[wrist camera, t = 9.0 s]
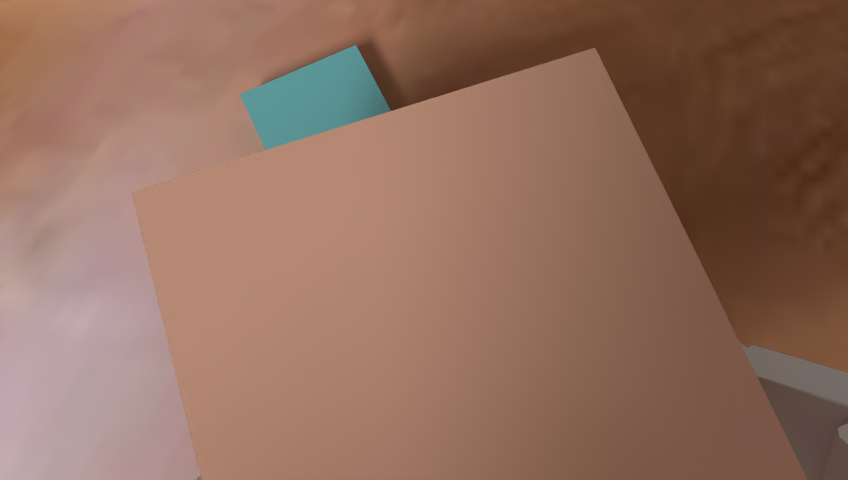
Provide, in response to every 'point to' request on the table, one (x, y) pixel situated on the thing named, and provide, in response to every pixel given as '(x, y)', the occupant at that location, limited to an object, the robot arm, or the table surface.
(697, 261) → the cover
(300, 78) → the stick
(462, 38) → the table surface
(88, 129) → the table surface
